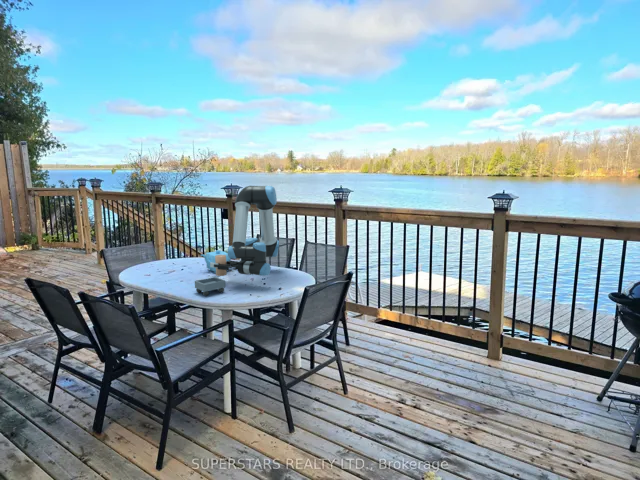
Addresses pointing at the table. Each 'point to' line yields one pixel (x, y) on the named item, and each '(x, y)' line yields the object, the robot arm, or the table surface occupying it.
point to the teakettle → (211, 258)
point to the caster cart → (209, 285)
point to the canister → (221, 260)
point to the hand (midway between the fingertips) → (214, 263)
